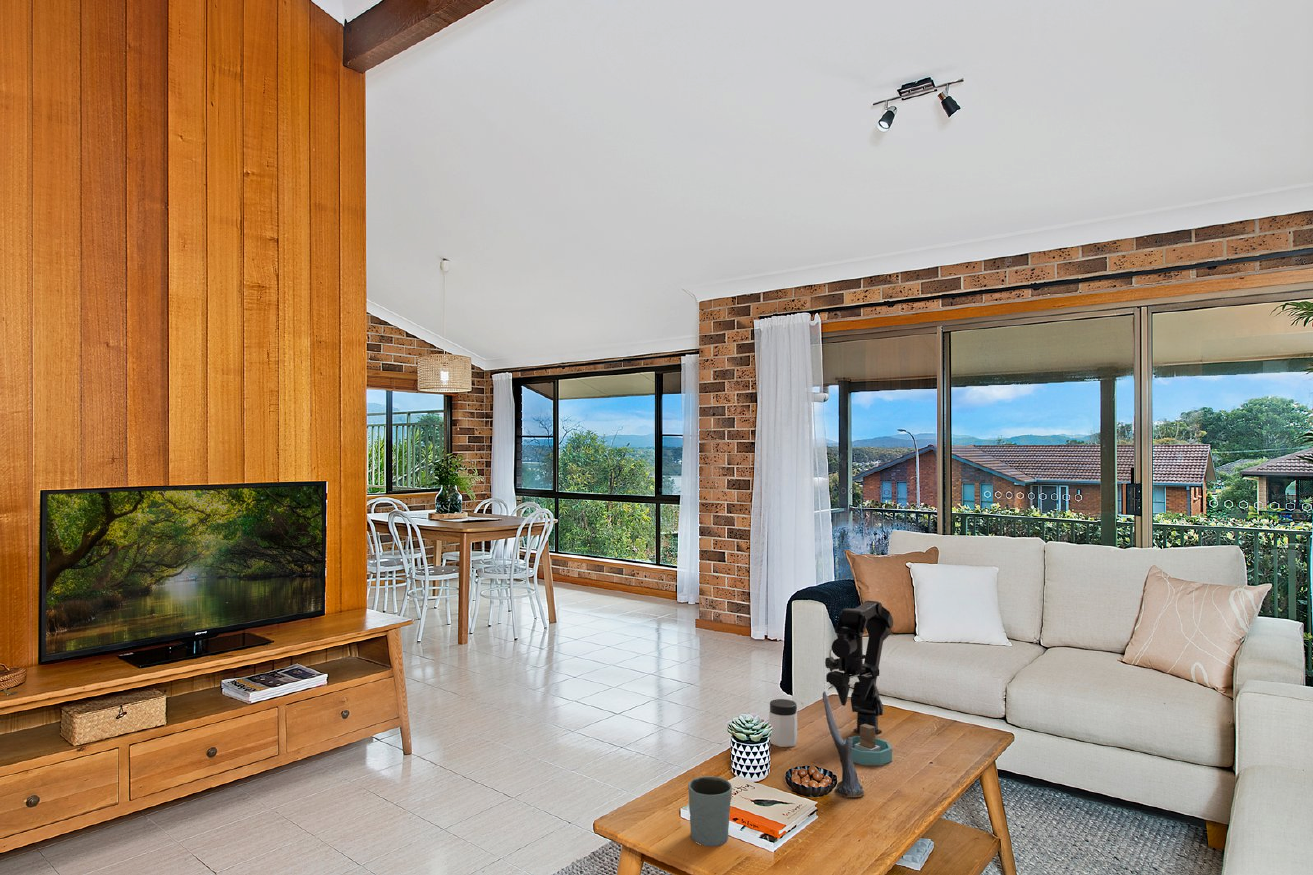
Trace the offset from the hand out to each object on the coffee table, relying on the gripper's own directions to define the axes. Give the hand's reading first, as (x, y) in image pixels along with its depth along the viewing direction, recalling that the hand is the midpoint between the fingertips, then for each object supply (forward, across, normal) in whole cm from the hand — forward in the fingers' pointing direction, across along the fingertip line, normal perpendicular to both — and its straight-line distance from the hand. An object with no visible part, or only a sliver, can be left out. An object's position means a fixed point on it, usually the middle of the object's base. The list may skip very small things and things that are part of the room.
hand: (853, 702), depth 240 cm
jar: (+13, +16, -14) cm, 25 cm away
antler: (+13, +30, +20) cm, 38 cm away
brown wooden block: (+12, +5, +9) cm, 16 cm away
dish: (+12, +5, +9) cm, 16 cm away
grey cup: (+13, +74, +18) cm, 77 cm away
